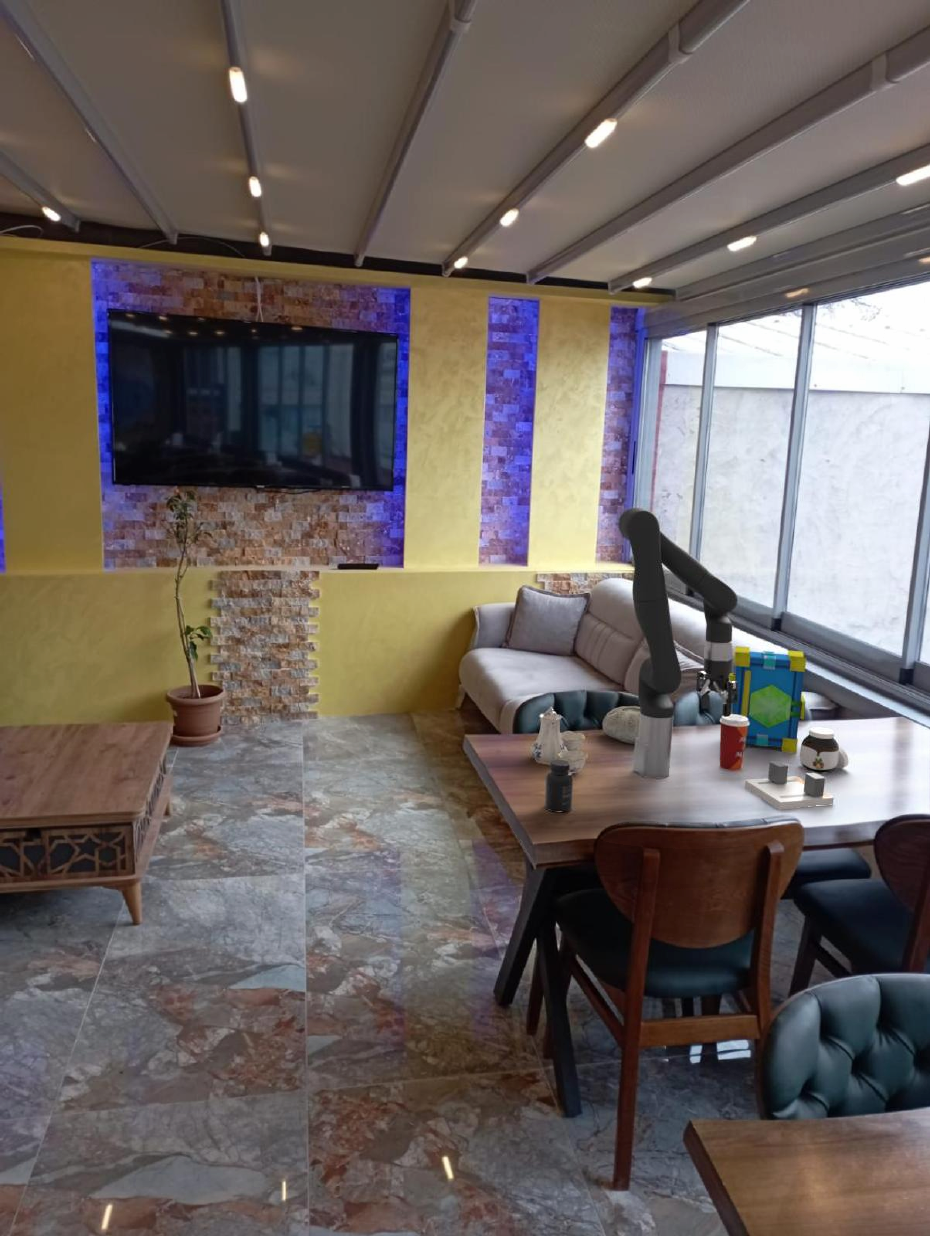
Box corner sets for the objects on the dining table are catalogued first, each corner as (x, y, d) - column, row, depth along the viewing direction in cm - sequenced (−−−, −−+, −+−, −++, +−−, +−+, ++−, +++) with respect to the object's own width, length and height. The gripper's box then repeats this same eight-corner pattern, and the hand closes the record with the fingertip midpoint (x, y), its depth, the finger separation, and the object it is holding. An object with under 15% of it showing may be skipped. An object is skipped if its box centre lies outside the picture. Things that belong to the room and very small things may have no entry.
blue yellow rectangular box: (800, 755, 270) (810, 659, 264) (722, 747, 275) (730, 653, 270) (796, 741, 283) (805, 650, 278) (721, 733, 289) (729, 644, 284)
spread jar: (795, 767, 259) (799, 729, 257) (809, 758, 267) (813, 721, 265) (837, 778, 251) (841, 739, 249) (850, 769, 259) (855, 730, 257)
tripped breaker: (776, 784, 239) (778, 766, 238) (768, 779, 242) (769, 761, 242) (786, 783, 239) (788, 765, 239) (777, 778, 243) (779, 760, 242)
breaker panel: (779, 809, 227) (780, 802, 227) (744, 786, 242) (745, 779, 242) (832, 805, 231) (833, 797, 231) (795, 783, 246) (795, 776, 246)
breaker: (813, 797, 230) (815, 778, 229) (803, 791, 234) (805, 773, 233) (823, 796, 231) (825, 778, 230) (813, 790, 235) (815, 772, 234)
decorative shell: (621, 751, 269) (623, 719, 267) (590, 733, 285) (592, 703, 283) (670, 745, 276) (672, 714, 274) (637, 728, 292) (639, 699, 290)
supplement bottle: (569, 803, 227) (572, 758, 225) (573, 813, 220) (576, 767, 218) (542, 802, 226) (545, 757, 224) (546, 813, 220) (548, 767, 218)
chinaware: (591, 785, 245) (601, 727, 242) (532, 777, 244) (541, 719, 241) (578, 751, 272) (587, 699, 269) (525, 744, 272) (533, 692, 269)
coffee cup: (746, 773, 253) (751, 722, 250) (716, 770, 254) (721, 720, 252) (743, 763, 261) (748, 714, 258) (714, 760, 262) (719, 712, 260)
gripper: (690, 652, 251) (688, 707, 254) (725, 663, 238) (723, 721, 242) (710, 649, 254) (708, 703, 257) (746, 660, 242) (744, 717, 245)
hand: (715, 712), depth 250 cm, fingers open, 8 cm apart
